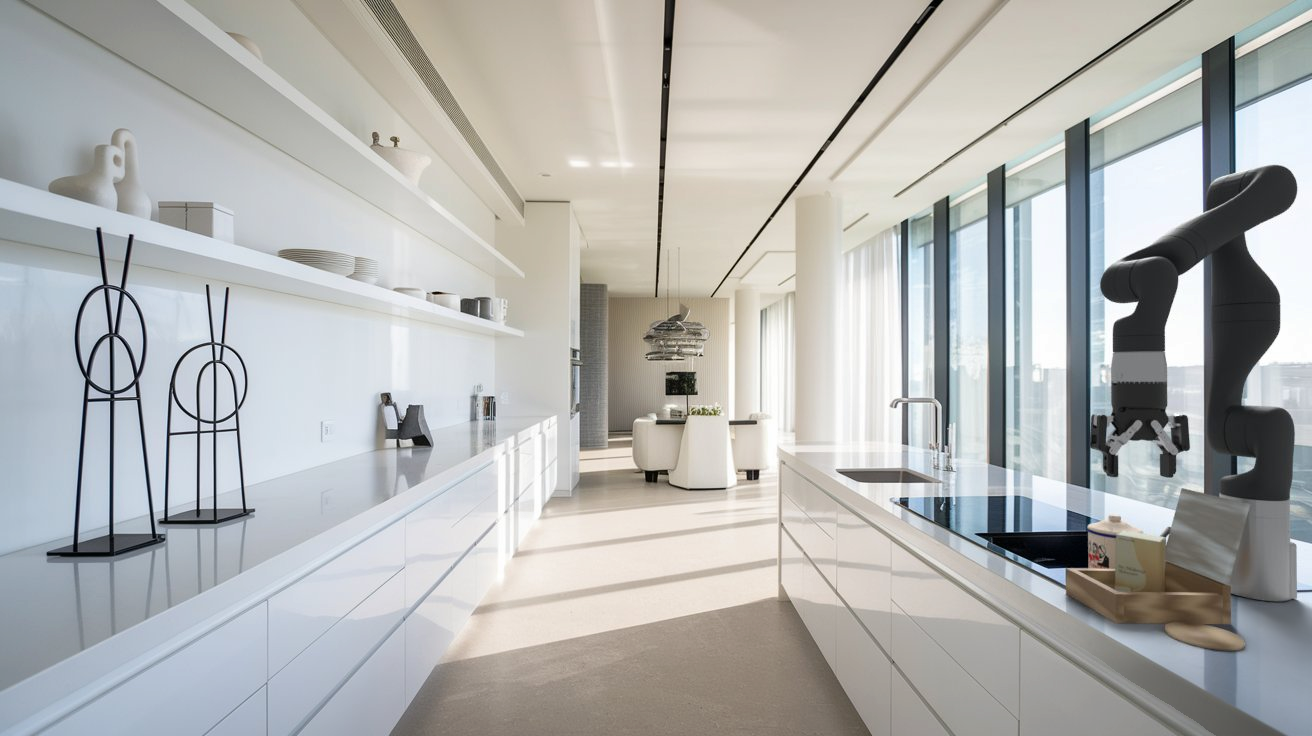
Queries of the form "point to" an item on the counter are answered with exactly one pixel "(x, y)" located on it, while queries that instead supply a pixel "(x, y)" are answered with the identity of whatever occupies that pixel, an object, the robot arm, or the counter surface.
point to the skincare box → (1140, 562)
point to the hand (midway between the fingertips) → (1139, 476)
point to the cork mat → (1204, 636)
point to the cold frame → (1177, 568)
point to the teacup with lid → (1105, 541)
